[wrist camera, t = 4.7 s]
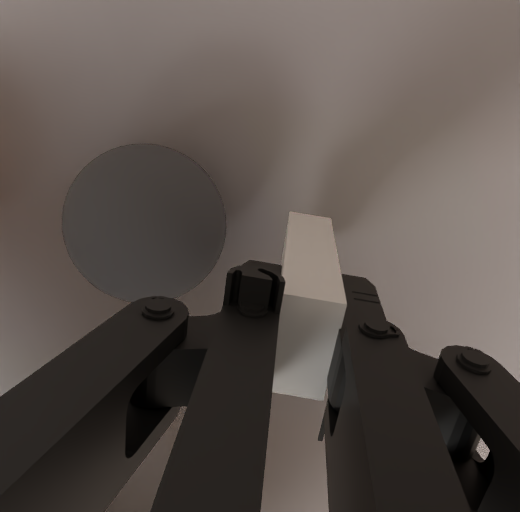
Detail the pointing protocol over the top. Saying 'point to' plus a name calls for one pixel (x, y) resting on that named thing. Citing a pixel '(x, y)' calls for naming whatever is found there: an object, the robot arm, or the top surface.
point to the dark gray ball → (143, 222)
